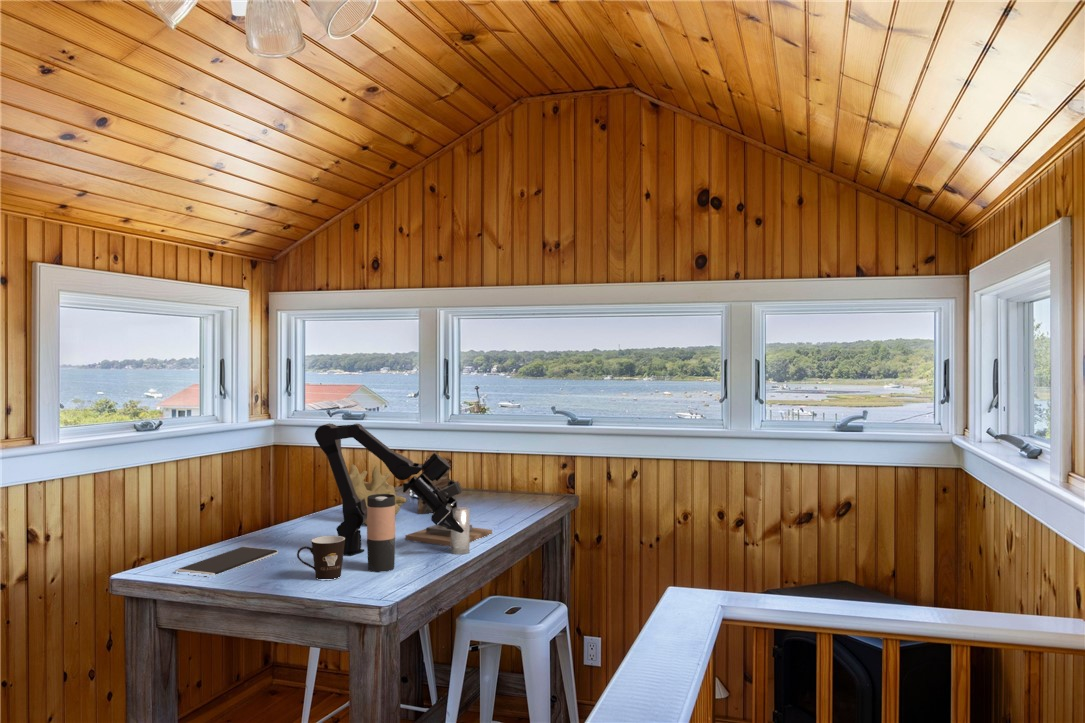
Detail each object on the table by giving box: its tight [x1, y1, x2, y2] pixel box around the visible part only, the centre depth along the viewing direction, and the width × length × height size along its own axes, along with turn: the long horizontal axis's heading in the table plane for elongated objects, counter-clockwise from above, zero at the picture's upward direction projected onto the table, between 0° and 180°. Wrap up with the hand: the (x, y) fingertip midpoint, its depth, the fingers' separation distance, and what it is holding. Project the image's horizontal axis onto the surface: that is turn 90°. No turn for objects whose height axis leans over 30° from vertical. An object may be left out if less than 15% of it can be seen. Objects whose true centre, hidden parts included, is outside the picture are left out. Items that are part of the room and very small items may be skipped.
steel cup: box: [450, 506, 470, 556], centre depth 230 cm, size 6×6×13 cm
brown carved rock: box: [417, 456, 452, 515], centre depth 292 cm, size 13×13×20 cm
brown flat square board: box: [404, 524, 493, 547], centre depth 249 cm, size 20×20×4 cm
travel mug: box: [366, 494, 396, 573], centre depth 212 cm, size 8×8×20 cm
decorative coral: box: [349, 464, 407, 526], centre depth 274 cm, size 26×22×25 cm
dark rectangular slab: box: [174, 546, 279, 575], centre depth 217 cm, size 13×27×2 cm, turn 161°
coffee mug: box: [296, 535, 345, 579], centre depth 203 cm, size 12×9×10 cm
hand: (464, 528), depth 230 cm, fingers open, 9 cm apart
